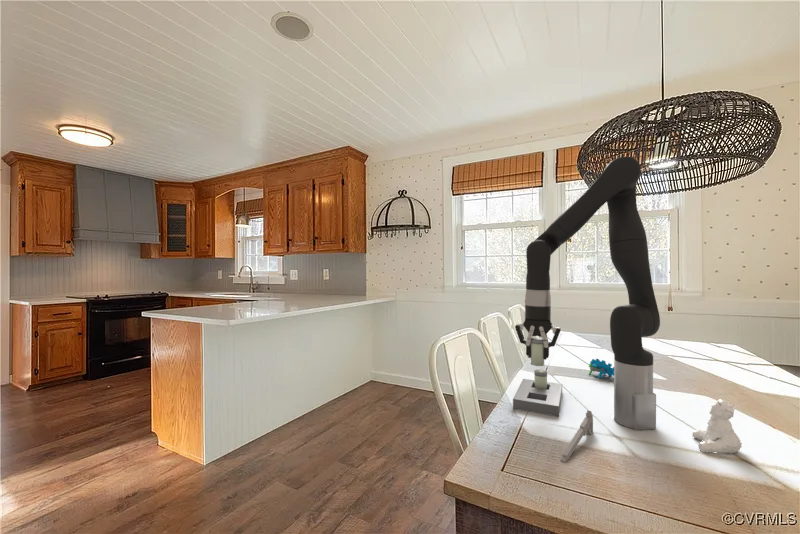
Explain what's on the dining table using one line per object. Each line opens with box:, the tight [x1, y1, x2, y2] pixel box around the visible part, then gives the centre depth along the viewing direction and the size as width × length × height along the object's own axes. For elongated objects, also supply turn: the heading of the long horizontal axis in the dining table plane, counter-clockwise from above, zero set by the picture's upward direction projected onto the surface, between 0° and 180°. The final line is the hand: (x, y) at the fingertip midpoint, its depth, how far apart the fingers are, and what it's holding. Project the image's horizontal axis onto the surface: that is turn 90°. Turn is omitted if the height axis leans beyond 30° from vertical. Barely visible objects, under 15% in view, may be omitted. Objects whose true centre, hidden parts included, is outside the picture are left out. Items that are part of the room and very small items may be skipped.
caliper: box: [559, 410, 594, 463], centre depth 89 cm, size 20×1×6 cm, turn 136°
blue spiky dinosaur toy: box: [588, 358, 614, 379], centre depth 142 cm, size 11×6×10 cm
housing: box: [512, 369, 563, 417], centre depth 118 cm, size 22×13×8 cm, turn 153°
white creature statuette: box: [692, 398, 743, 454], centre depth 87 cm, size 10×9×12 cm
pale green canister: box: [530, 337, 545, 367], centre depth 113 cm, size 4×4×8 cm
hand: (537, 357), depth 114 cm, fingers closed on pale green canister, 4 cm apart
